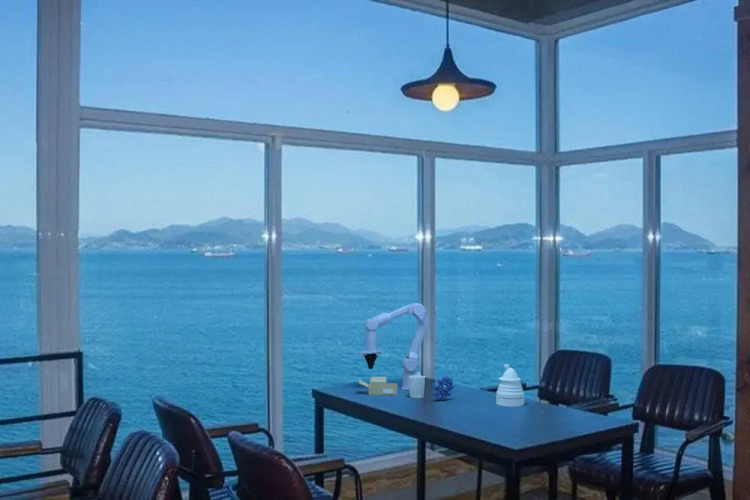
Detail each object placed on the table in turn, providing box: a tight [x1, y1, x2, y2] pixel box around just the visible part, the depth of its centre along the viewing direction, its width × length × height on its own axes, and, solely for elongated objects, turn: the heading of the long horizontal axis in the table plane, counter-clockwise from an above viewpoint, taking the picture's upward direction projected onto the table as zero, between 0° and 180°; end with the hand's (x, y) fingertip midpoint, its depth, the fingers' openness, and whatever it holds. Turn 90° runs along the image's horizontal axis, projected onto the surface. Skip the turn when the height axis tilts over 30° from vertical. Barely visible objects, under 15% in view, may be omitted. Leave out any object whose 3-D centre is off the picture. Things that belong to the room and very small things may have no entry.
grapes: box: [432, 374, 455, 401], centre depth 366 cm, size 12×7×12 cm, turn 117°
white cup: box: [409, 374, 426, 399], centre depth 373 cm, size 8×8×10 cm
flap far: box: [358, 379, 369, 388], centre depth 382 cm, size 1×8×5 cm
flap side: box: [369, 376, 387, 383], centre depth 394 cm, size 8×1×5 cm
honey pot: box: [495, 363, 525, 408], centre depth 358 cm, size 13×13×18 cm
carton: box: [368, 382, 398, 396], centre depth 384 cm, size 14×14×4 cm
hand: (370, 368), depth 394 cm, fingers closed
